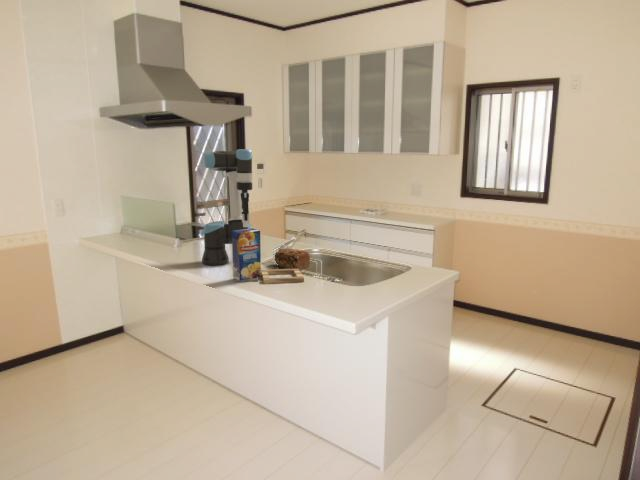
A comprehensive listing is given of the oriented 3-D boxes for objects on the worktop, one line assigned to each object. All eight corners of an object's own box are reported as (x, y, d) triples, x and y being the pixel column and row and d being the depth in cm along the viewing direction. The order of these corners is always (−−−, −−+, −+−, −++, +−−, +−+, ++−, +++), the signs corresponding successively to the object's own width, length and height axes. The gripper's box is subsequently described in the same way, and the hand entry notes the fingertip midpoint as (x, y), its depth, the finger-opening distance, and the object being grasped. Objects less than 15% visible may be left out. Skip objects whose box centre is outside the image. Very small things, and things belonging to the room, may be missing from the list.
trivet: (235, 276, 236) (235, 274, 236) (256, 275, 238) (256, 273, 238) (235, 282, 226) (235, 280, 225) (258, 281, 228) (258, 279, 228)
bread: (310, 268, 254) (310, 250, 252) (296, 271, 247) (296, 253, 245) (287, 262, 267) (287, 245, 265) (273, 265, 259) (273, 248, 257)
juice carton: (239, 280, 225) (238, 233, 220) (232, 277, 231) (231, 230, 226) (261, 276, 232) (260, 230, 228) (253, 273, 238) (252, 228, 233)
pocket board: (261, 273, 241) (261, 270, 241) (298, 272, 245) (298, 268, 245) (263, 283, 224) (263, 279, 224) (304, 281, 228) (304, 277, 228)
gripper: (236, 179, 233) (236, 220, 238) (237, 184, 209) (238, 229, 214) (250, 179, 235) (251, 220, 239) (253, 184, 211) (254, 229, 215)
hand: (245, 224), depth 227 cm, fingers open, 13 cm apart
